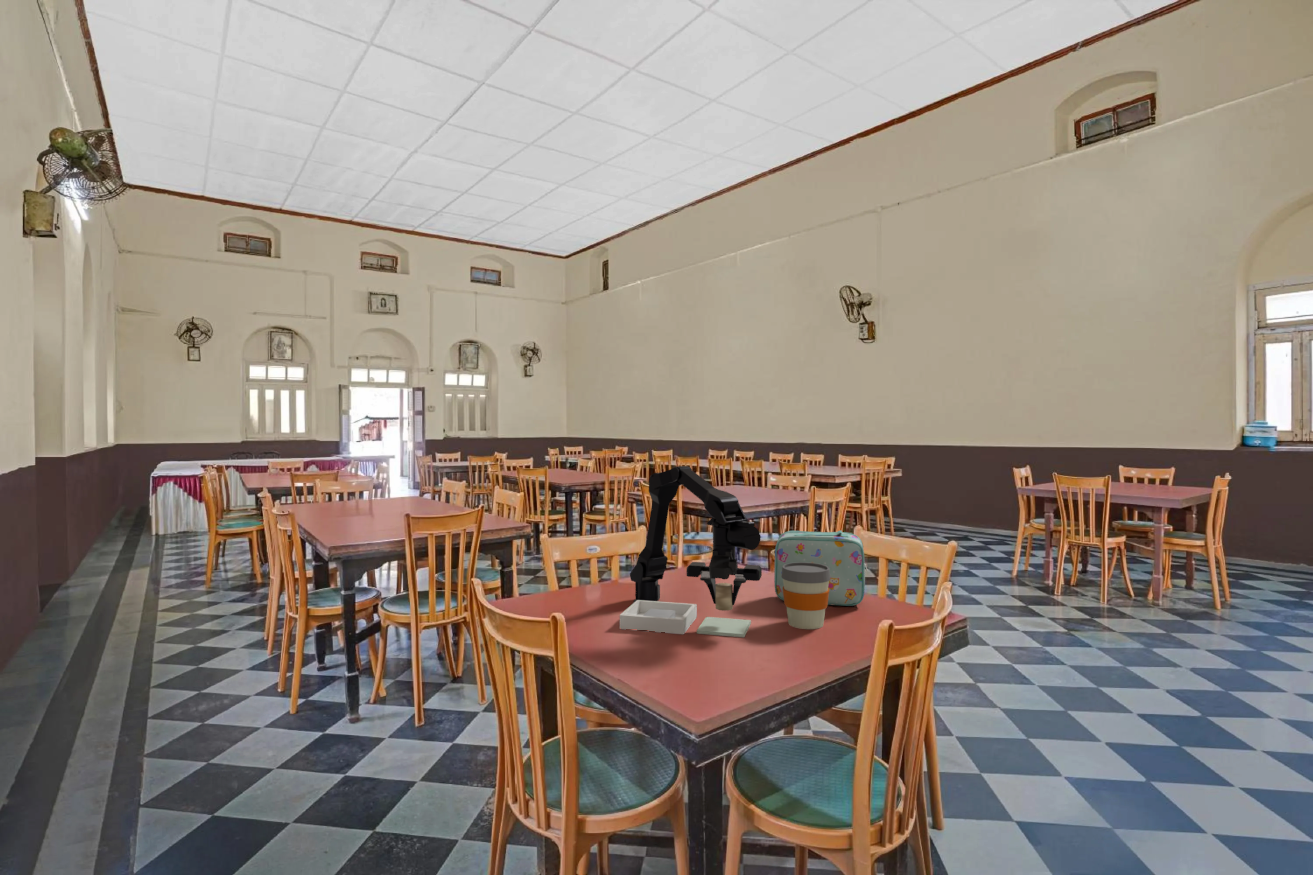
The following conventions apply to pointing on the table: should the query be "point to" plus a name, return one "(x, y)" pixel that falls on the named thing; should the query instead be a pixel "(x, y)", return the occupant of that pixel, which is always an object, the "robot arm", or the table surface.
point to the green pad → (724, 627)
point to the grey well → (659, 616)
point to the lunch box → (825, 562)
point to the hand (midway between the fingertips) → (724, 604)
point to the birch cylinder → (724, 596)
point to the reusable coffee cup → (805, 593)
